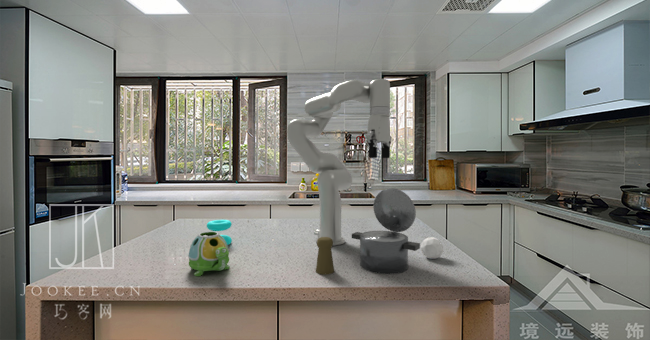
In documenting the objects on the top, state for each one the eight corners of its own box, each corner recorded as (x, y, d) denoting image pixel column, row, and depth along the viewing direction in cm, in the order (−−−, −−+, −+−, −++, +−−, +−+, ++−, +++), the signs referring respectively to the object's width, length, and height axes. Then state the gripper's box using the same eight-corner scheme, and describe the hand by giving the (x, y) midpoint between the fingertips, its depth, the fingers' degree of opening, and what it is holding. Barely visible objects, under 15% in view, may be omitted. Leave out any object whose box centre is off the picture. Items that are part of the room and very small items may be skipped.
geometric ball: (427, 263, 113) (422, 243, 118) (448, 259, 110) (442, 238, 115) (420, 258, 108) (415, 237, 113) (442, 253, 105) (437, 231, 109)
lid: (371, 187, 112) (375, 185, 114) (375, 228, 115) (378, 226, 117) (413, 190, 102) (416, 188, 104) (415, 235, 105) (418, 232, 107)
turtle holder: (204, 285, 88) (203, 244, 87) (182, 268, 101) (182, 233, 101) (243, 274, 96) (242, 236, 96) (218, 260, 110) (218, 227, 109)
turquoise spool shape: (201, 222, 127) (221, 218, 136) (201, 245, 128) (221, 240, 136) (217, 224, 122) (236, 220, 130) (217, 249, 122) (236, 243, 131)
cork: (332, 275, 95) (332, 240, 95) (313, 273, 96) (313, 239, 96) (335, 268, 101) (335, 235, 101) (317, 267, 102) (317, 234, 102)
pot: (341, 263, 106) (341, 235, 105) (366, 252, 118) (366, 227, 118) (406, 281, 90) (406, 248, 90) (426, 266, 103) (427, 237, 102)
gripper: (382, 116, 125) (381, 158, 125) (358, 111, 111) (358, 157, 112) (399, 114, 120) (398, 158, 121) (376, 109, 107) (376, 157, 107)
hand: (379, 157), depth 116 cm, fingers open, 9 cm apart
